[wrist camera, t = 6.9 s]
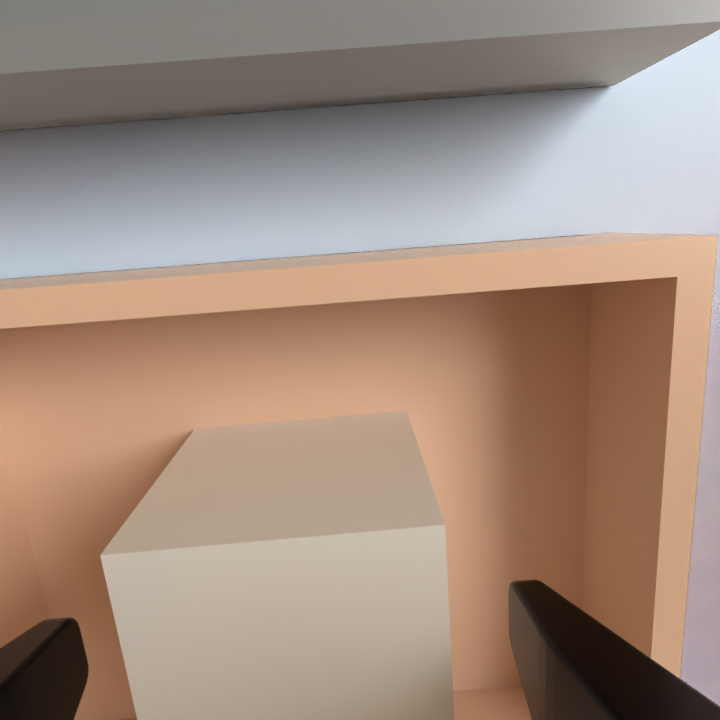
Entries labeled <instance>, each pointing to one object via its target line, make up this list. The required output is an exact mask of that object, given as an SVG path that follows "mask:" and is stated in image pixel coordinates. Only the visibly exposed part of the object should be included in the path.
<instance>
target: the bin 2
mask: <svg viewBox="0 0 720 720" xmlns="http://www.w3.org/2000/svg"><path fill="white" fill-rule="evenodd" d="M717 242H718V235H683V234H631V233H603V234H589V235H576V236H563V237H550V238H537V239H524V240H511V241H498V242H484V243H471V244H458V245H445V246H432V247H419V248H406V249H393V250H380V251H366V252H353V253H340V254H327V255H314V256H301V257H288V258H275V259H262V260H248V261H235V262H222V263H209V264H196V265H183V266H170V267H157V268H144V269H130V270H117V271H104V272H91V273H78V274H65V275H52V276H39V277H25V278H12V279H0V648H1V647H3V646H4V645H6V644H7V643H9V642H10V641H12V640H13V639H15V638H16V637H18V636H20V635H21V634H23V633H24V632H26V631H27V630H29V629H30V628H32V627H33V626H35V625H36V624H38V623H39V622H41V621H43V620H46V619H54V618H67V617H71V618H74V619H75V620H76V621H77V622H78V624H79V627H80V631H81V635H82V639H83V643H84V647H85V652H86V656H87V660H88V666H89V673H88V680H87V684H86V687H85V690H84V693H83V695H82V698H81V701H80V704H79V707H78V709H77V712H76V715H75V718H74V720H137V716H136V712H135V707H134V703H133V698H132V694H131V690H130V685H129V681H128V676H127V672H126V667H125V663H124V659H123V654H122V650H121V645H120V641H119V636H118V632H117V628H116V623H115V619H114V614H113V610H112V606H111V601H110V597H109V592H108V588H107V583H106V579H105V575H104V570H103V566H102V561H101V557H100V555H101V553H102V552H103V551H104V549H105V548H106V547H107V545H108V544H109V543H110V541H111V540H112V539H113V537H114V536H115V535H116V533H117V532H118V531H119V529H120V528H121V527H122V525H123V524H124V523H125V521H126V520H127V519H128V517H129V516H130V515H131V513H132V512H133V511H134V509H135V508H136V507H137V505H138V504H139V503H140V501H141V500H142V499H143V497H144V496H145V495H146V493H147V492H148V491H149V489H150V488H151V487H152V485H153V484H154V483H155V481H156V480H157V479H158V477H159V476H160V475H161V473H162V472H163V471H164V469H165V468H166V467H167V465H168V464H169V463H170V461H171V460H172V459H173V457H174V456H175V455H176V453H177V452H178V451H179V449H180V448H181V447H182V445H183V444H184V443H185V441H186V440H187V439H188V437H189V436H190V435H191V433H192V432H193V431H194V429H199V428H210V427H222V426H234V425H245V424H257V423H268V422H280V421H291V420H303V419H314V418H326V417H337V416H349V415H361V414H372V413H384V412H395V411H407V413H408V416H409V419H410V422H411V425H412V428H413V431H414V434H415V437H416V440H417V443H418V446H419V449H420V452H421V455H422V458H423V461H424V464H425V467H426V470H427V473H428V476H429V478H430V481H431V484H432V487H433V490H434V493H435V496H436V499H437V502H438V505H439V508H440V511H441V514H442V517H443V520H444V523H445V532H446V553H447V574H448V595H449V615H450V636H451V657H452V677H453V698H454V719H455V720H532V718H531V715H530V711H529V708H528V704H527V701H526V697H525V694H524V690H523V687H522V683H521V680H520V676H519V673H518V669H517V666H516V662H515V659H514V655H513V652H512V648H511V644H510V638H509V612H508V589H509V585H510V584H511V582H513V581H521V580H533V579H536V580H539V581H541V582H543V583H544V584H546V585H547V586H549V587H550V588H552V589H553V590H554V591H556V592H557V593H559V594H560V595H562V596H563V597H564V598H566V599H567V600H569V601H570V602H572V603H573V604H574V605H576V606H577V607H579V608H580V609H582V610H583V611H584V612H586V613H587V614H589V615H590V616H591V617H593V618H594V619H596V620H597V621H599V622H600V623H601V624H603V625H604V626H606V627H607V628H609V629H610V630H611V631H613V632H614V633H616V634H617V635H619V636H620V637H621V638H623V639H624V640H626V641H627V642H629V643H630V644H631V645H633V646H634V647H636V648H637V649H639V650H640V651H641V652H643V653H644V654H646V655H647V656H648V657H650V658H651V659H653V660H654V661H656V662H657V663H658V664H660V665H661V666H663V667H664V668H666V669H667V670H668V671H670V672H671V673H673V674H674V675H676V676H677V677H678V678H680V672H681V661H682V649H683V637H684V626H685V614H686V602H687V591H688V579H689V568H690V556H691V544H692V533H693V521H694V509H695V498H696V486H697V475H698V463H699V451H700V440H701V428H702V416H703V405H704V393H705V382H706V370H707V358H708V347H709V335H710V324H711V312H712V300H713V289H714V277H715V265H716V254H717Z"/></svg>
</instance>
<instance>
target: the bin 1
mask: <svg viewBox="0 0 720 720" xmlns="http://www.w3.org/2000/svg"><path fill="white" fill-rule="evenodd" d="M719 29H720V0H0V131H4V130H17V129H31V128H44V127H58V126H71V125H85V124H99V123H112V122H126V121H139V120H153V119H166V118H180V117H193V116H207V115H220V114H234V113H247V112H261V111H275V110H288V109H302V108H315V107H329V106H342V105H356V104H369V103H383V102H396V101H410V100H423V99H437V98H451V97H464V96H478V95H491V94H505V93H518V92H532V91H545V90H559V89H572V88H586V87H599V86H613V85H616V84H617V83H619V82H621V81H623V80H625V79H627V78H629V77H631V76H632V75H634V74H636V73H638V72H640V71H642V70H644V69H646V68H648V67H649V66H651V65H653V64H655V63H657V62H659V61H661V60H663V59H665V58H666V57H668V56H670V55H672V54H674V53H676V52H678V51H680V50H681V49H683V48H685V47H687V46H689V45H691V44H693V43H695V42H697V41H698V40H700V39H702V38H704V37H706V36H708V35H710V34H712V33H713V32H715V31H717V30H719Z"/></svg>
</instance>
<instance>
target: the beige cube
mask: <svg viewBox="0 0 720 720" xmlns="http://www.w3.org/2000/svg"><path fill="white" fill-rule="evenodd" d="M100 557H101V561H102V566H103V570H104V575H105V579H106V583H107V588H108V592H109V597H110V601H111V606H112V610H113V614H114V619H115V623H116V628H117V632H118V636H119V641H120V645H121V650H122V654H123V659H124V663H125V667H126V672H127V676H128V681H129V685H130V690H131V694H132V698H133V703H134V707H135V712H136V716H137V720H455V719H454V698H453V677H452V657H451V636H450V615H449V595H448V574H447V553H446V532H445V523H444V520H443V517H442V514H441V511H440V508H439V505H438V502H437V499H436V496H435V493H434V490H433V487H432V484H431V481H430V478H429V476H428V473H427V470H426V467H425V464H424V461H423V458H422V455H421V452H420V449H419V446H418V443H417V440H416V437H415V434H414V431H413V428H412V425H411V422H410V419H409V416H408V413H407V411H395V412H384V413H372V414H361V415H349V416H337V417H326V418H314V419H303V420H291V421H280V422H268V423H257V424H245V425H234V426H222V427H210V428H199V429H194V431H193V432H192V433H191V435H190V436H189V437H188V439H187V440H186V441H185V443H184V444H183V445H182V447H181V448H180V449H179V451H178V452H177V453H176V455H175V456H174V457H173V459H172V460H171V461H170V463H169V464H168V465H167V467H166V468H165V469H164V471H163V472H162V473H161V475H160V476H159V477H158V479H157V480H156V481H155V483H154V484H153V485H152V487H151V488H150V489H149V491H148V492H147V493H146V495H145V496H144V497H143V499H142V500H141V501H140V503H139V504H138V505H137V507H136V508H135V509H134V511H133V512H132V513H131V515H130V516H129V517H128V519H127V520H126V521H125V523H124V524H123V525H122V527H121V528H120V529H119V531H118V532H117V533H116V535H115V536H114V537H113V539H112V540H111V541H110V543H109V544H108V545H107V547H106V548H105V549H104V551H103V552H102V553H101V555H100Z"/></svg>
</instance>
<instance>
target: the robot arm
mask: <svg viewBox="0 0 720 720" xmlns="http://www.w3.org/2000/svg"><path fill="white" fill-rule="evenodd" d="M508 612H509V638H510V644H511V648H512V652H513V655H514V659H515V662H516V666H517V669H518V673H519V676H520V680H521V683H522V687H523V690H524V694H525V697H526V701H527V704H528V708H529V711H530V715H531V718H532V720H720V706H718V705H717V704H715V703H714V702H713V701H711V700H710V699H708V698H707V697H705V696H704V695H703V694H701V693H700V692H698V691H697V690H696V689H694V688H693V687H691V686H690V685H688V684H687V683H686V682H684V681H683V680H681V679H680V678H678V677H677V676H676V675H674V674H673V673H671V672H670V671H668V670H667V669H666V668H664V667H663V666H661V665H660V664H658V663H657V662H656V661H654V660H653V659H651V658H650V657H648V656H647V655H646V654H644V653H643V652H641V651H640V650H639V649H637V648H636V647H634V646H633V645H631V644H630V643H629V642H627V641H626V640H624V639H623V638H621V637H620V636H619V635H617V634H616V633H614V632H613V631H611V630H610V629H609V628H607V627H606V626H604V625H603V624H601V623H600V622H599V621H597V620H596V619H594V618H593V617H591V616H590V615H589V614H587V613H586V612H584V611H583V610H582V609H580V608H579V607H577V606H576V605H574V604H573V603H572V602H570V601H569V600H567V599H566V598H564V597H563V596H562V595H560V594H559V593H557V592H556V591H554V590H553V589H552V588H550V587H549V586H547V585H546V584H544V583H543V582H541V581H539V580H536V579H533V580H521V581H513V582H511V584H510V585H509V589H508ZM88 673H89V666H88V660H87V656H86V652H85V647H84V643H83V639H82V635H81V631H80V627H79V624H78V622H77V621H76V620H75V619H74V618H71V617H67V618H54V619H46V620H43V621H41V622H39V623H38V624H36V625H35V626H33V627H32V628H30V629H29V630H27V631H26V632H24V633H23V634H21V635H20V636H18V637H16V638H15V639H13V640H12V641H10V642H9V643H7V644H6V645H4V646H3V647H1V648H0V720H74V718H75V715H76V712H77V709H78V707H79V704H80V701H81V698H82V695H83V693H84V690H85V687H86V684H87V680H88Z"/></svg>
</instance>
